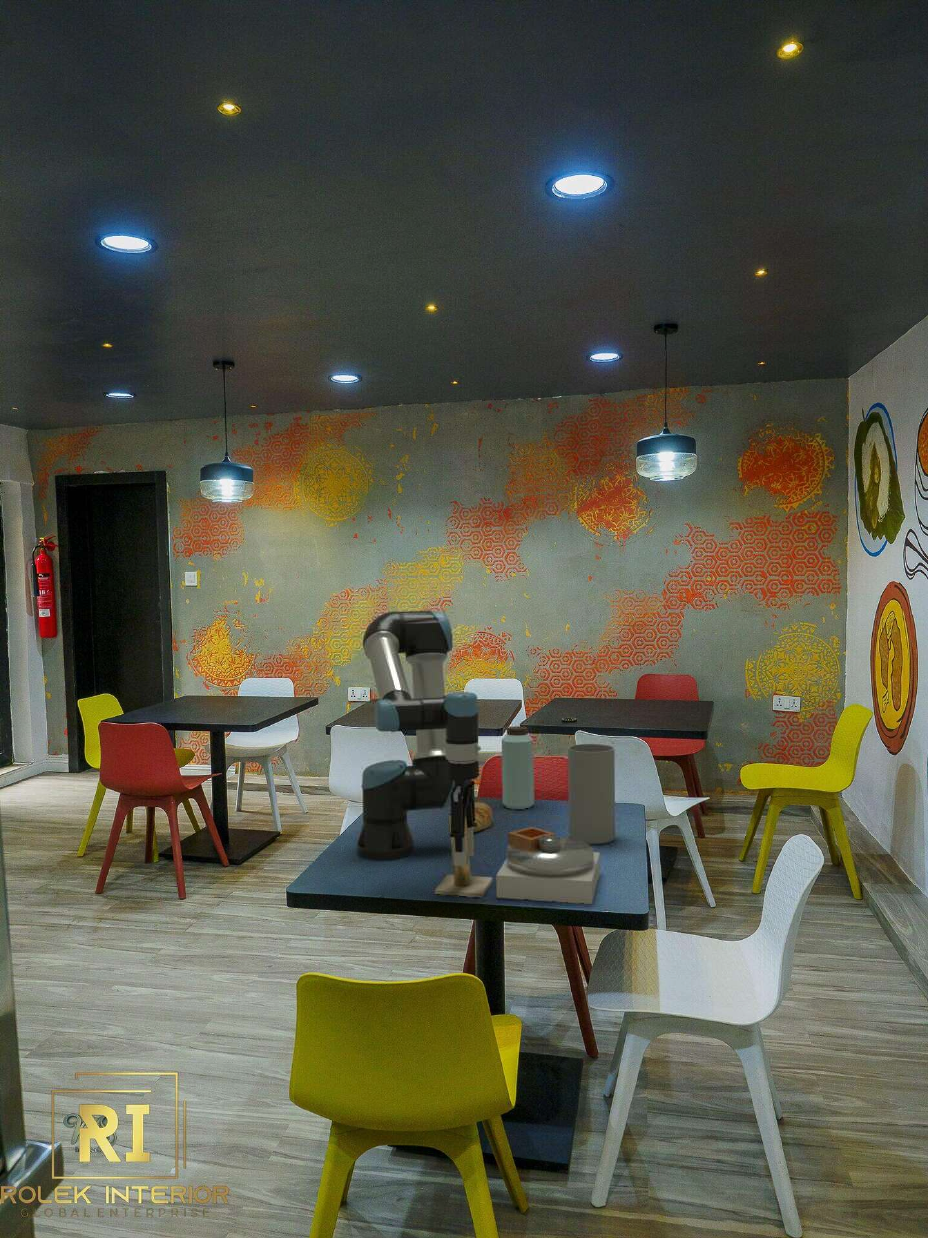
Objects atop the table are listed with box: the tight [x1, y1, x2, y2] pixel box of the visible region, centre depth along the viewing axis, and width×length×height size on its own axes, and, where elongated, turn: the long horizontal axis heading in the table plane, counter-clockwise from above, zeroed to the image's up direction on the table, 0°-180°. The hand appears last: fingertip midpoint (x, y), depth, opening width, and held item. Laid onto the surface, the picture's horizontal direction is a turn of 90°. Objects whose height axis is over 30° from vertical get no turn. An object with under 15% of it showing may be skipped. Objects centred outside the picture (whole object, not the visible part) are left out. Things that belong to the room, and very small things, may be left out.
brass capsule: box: [448, 812, 472, 886], centre depth 196 cm, size 4×4×16 cm
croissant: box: [472, 801, 494, 833], centre depth 249 cm, size 21×10×8 cm, turn 169°
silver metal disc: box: [506, 826, 595, 876], centre depth 197 cm, size 20×20×6 cm
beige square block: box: [495, 851, 601, 905], centre depth 197 cm, size 21×21×5 cm
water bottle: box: [501, 725, 535, 810], centre depth 270 cm, size 10×10×25 cm
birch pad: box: [434, 874, 494, 899], centre depth 196 cm, size 11×11×1 cm
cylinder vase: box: [567, 743, 616, 846], centre depth 233 cm, size 12×12×25 cm
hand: (463, 860), depth 196 cm, fingers open, 7 cm apart
